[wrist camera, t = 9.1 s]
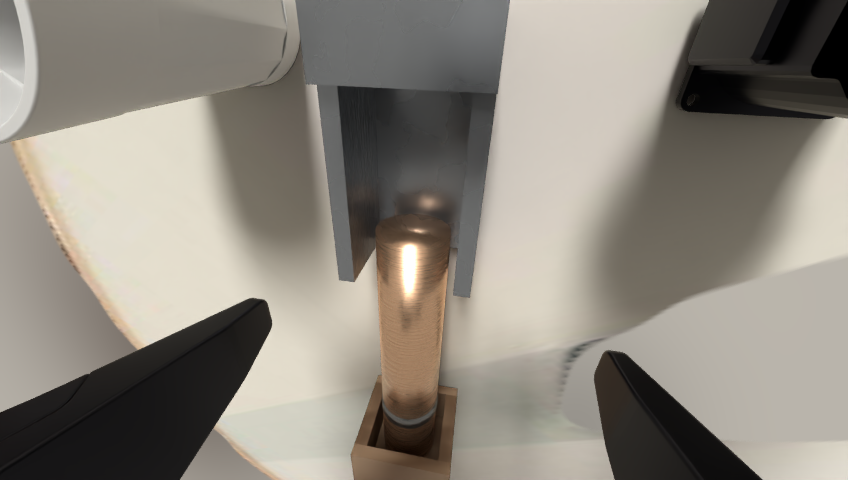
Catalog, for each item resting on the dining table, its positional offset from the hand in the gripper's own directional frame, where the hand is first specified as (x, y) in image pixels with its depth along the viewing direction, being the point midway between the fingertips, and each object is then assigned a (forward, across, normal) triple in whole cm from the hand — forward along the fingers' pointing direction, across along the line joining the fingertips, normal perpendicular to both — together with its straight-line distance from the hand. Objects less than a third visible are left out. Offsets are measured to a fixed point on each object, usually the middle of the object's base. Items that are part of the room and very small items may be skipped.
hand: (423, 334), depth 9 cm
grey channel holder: (+12, +2, -2) cm, 12 cm away
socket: (+12, +2, +20) cm, 23 cm away
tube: (+11, +2, +11) cm, 15 cm away
